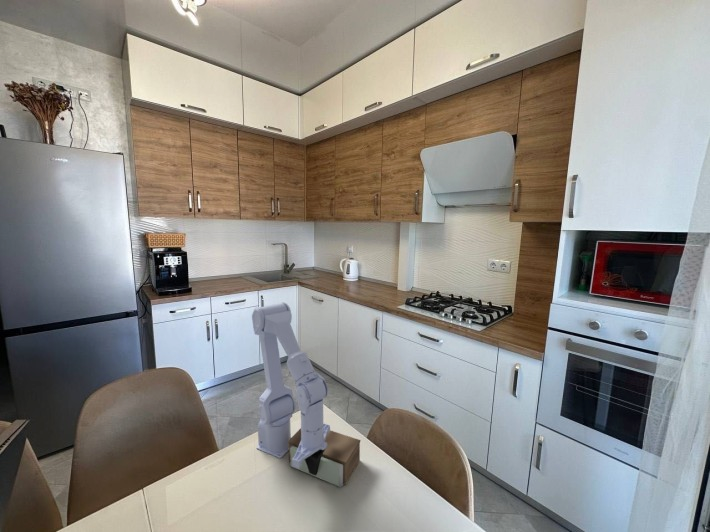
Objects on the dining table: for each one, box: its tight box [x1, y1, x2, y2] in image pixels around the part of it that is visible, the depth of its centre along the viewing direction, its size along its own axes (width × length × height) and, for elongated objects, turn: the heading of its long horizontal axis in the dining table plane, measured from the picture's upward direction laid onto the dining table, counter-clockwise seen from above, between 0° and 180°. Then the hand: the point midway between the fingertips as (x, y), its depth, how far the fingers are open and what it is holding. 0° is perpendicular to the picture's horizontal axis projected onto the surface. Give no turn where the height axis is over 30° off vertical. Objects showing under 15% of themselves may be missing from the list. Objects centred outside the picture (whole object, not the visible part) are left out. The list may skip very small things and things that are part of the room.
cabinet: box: [288, 427, 361, 486], centre depth 83 cm, size 18×9×6 cm, turn 65°
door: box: [290, 446, 344, 488], centre depth 78 cm, size 16×2×6 cm, turn 65°
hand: (313, 473), depth 77 cm, fingers closed
